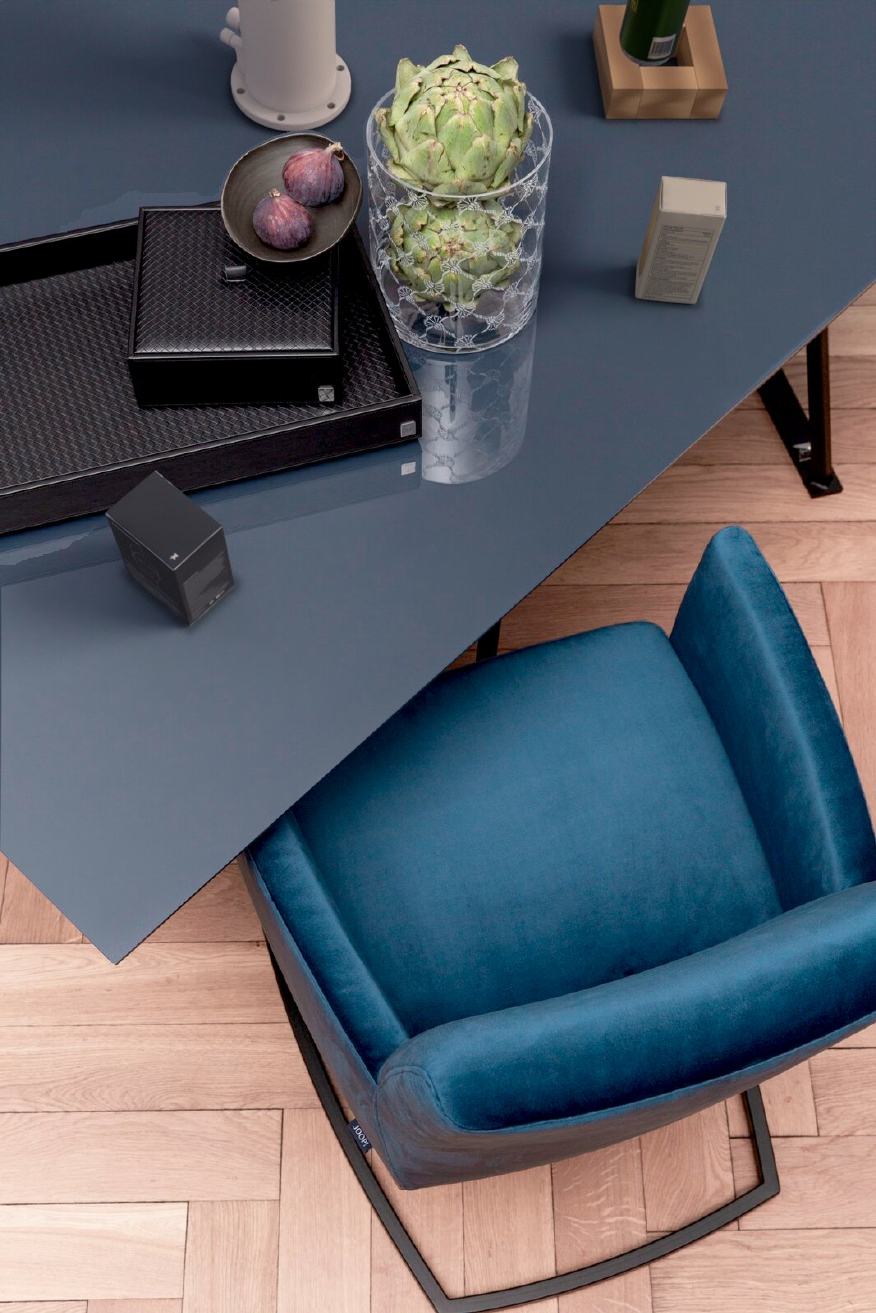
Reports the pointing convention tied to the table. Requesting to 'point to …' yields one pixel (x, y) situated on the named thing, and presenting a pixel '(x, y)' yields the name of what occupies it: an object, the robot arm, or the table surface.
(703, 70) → the holder
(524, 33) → the table surface
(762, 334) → the table surface
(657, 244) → the cosmetic box
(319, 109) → the robot arm
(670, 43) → the beer can
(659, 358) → the table surface
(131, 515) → the box
